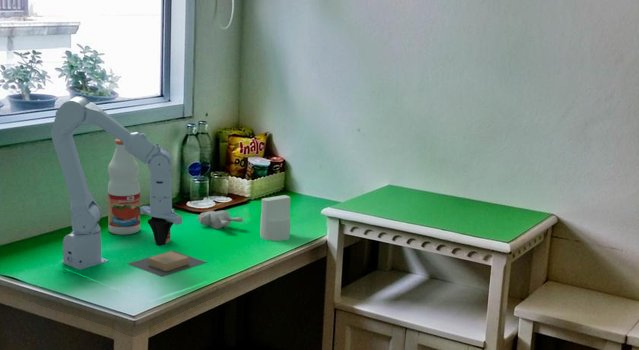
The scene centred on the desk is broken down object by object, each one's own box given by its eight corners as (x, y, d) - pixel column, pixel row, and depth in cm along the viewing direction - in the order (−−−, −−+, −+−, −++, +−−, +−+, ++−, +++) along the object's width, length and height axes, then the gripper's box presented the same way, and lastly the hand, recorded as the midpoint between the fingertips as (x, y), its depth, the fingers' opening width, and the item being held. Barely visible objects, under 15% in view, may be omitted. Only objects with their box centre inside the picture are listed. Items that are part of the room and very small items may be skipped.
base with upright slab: (271, 242, 248) (272, 203, 245) (254, 234, 255) (255, 196, 252) (295, 237, 254) (297, 199, 251) (278, 230, 260) (279, 192, 258)
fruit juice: (134, 224, 259) (133, 135, 253) (144, 233, 252) (144, 141, 245) (104, 228, 255) (102, 137, 248) (114, 236, 247) (112, 143, 241)
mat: (161, 278, 215) (161, 276, 215) (126, 265, 224) (126, 263, 223) (207, 263, 227) (207, 262, 227) (172, 251, 236) (172, 250, 236)
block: (148, 265, 223) (165, 272, 218) (148, 257, 222) (165, 264, 218) (171, 258, 229) (188, 264, 225) (171, 251, 228) (188, 257, 224)
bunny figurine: (213, 207, 269) (245, 211, 259) (214, 222, 270) (246, 227, 260) (190, 212, 262) (222, 216, 252) (191, 228, 263) (223, 233, 253)
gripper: (191, 198, 220) (190, 247, 223) (154, 188, 229) (154, 235, 232) (170, 202, 215) (170, 253, 218) (133, 192, 223) (134, 241, 226)
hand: (160, 244), depth 224 cm, fingers closed
